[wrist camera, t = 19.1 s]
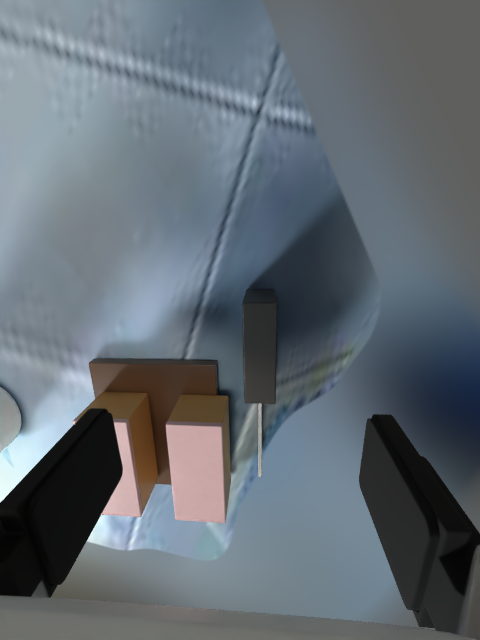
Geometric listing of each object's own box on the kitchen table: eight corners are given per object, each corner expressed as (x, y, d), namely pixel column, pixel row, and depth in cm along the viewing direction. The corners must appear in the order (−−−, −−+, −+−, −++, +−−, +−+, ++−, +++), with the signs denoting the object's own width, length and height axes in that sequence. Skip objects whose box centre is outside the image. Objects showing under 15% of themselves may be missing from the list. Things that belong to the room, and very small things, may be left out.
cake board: (94, 358, 27) (88, 362, 27) (216, 360, 27) (215, 365, 26) (115, 474, 32) (110, 481, 31) (222, 479, 31) (221, 487, 30)
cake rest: (102, 391, 27) (72, 420, 23) (147, 392, 27) (125, 422, 23) (117, 474, 30) (93, 514, 26) (158, 476, 30) (141, 517, 26)
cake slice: (181, 394, 27) (165, 424, 22) (228, 395, 26) (221, 426, 22) (188, 478, 30) (175, 520, 25) (230, 480, 29) (225, 523, 25)
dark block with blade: (246, 289, 24) (242, 302, 20) (274, 288, 24) (277, 302, 19) (248, 444, 29) (245, 485, 24) (272, 445, 29) (274, 486, 24)
